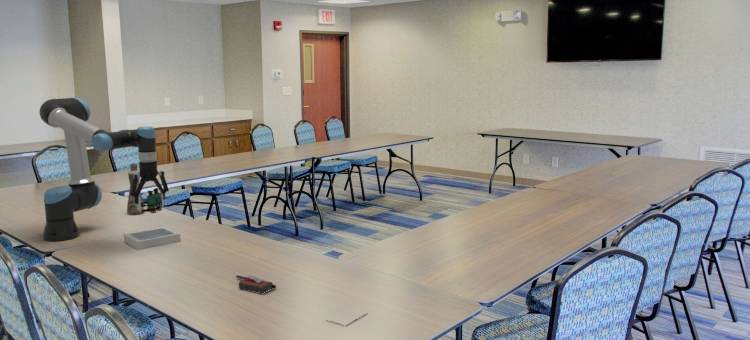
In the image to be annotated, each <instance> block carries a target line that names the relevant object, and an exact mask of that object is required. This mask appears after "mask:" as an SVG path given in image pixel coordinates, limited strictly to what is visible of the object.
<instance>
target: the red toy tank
mask: <svg viewBox="0 0 750 340" xmlns="http://www.w3.org/2000/svg"><path fill="white" fill-rule="evenodd" d="M235 278H236V279H240V281H239V282H238V288H240V289H239V290H242V289H245V290H244V291H246V290H250V291H249V292H251V291H255V292H260V293H264V292H266V291H268V290H270V289H272V288H273V289H276V288H277V285H275V284H274V283H273V282H270V281H266V280H264V279H263V278H260V277H259V278H258V277H257V276H254V275H247V276H242V275H237V274H236V276H235ZM273 289H272V290H273ZM270 291H271V290H270ZM255 292H254V293H255ZM268 292H269V291H268ZM266 293H267V292H266Z"/></svg>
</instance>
